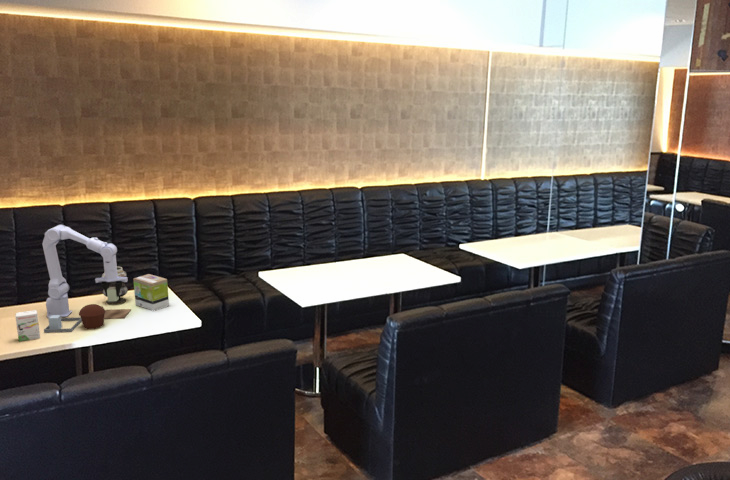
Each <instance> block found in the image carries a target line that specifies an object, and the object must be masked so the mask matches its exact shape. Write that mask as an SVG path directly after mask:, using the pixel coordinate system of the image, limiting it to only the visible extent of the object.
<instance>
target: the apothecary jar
mask: <svg viewBox="0 0 730 480" xmlns="http://www.w3.org/2000/svg"><path fill="white" fill-rule="evenodd" d="M117 274H118V277H127V272H126V271H124V269H123V267H122V266H117ZM102 277H105V272H104V273H102V275H101V278H102ZM115 283H116V282H109V287H115ZM125 283H126V282H123V283H122V285H121V288H120V293H119V299H118V300H117V301H108V299H107V300H106V302H105V304H107V305H113V306H114V305H120V304H121V305H122V304H124V303H126V302H127V299H126V298H125V297H124V298H123V296H126V294H127V293H128V291H129V289H128V287H127V286H126V284H125ZM102 294H103V296H105V297H106V298H108V297H107V295H106V293H105V291H104V289H103V290H102Z"/></svg>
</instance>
